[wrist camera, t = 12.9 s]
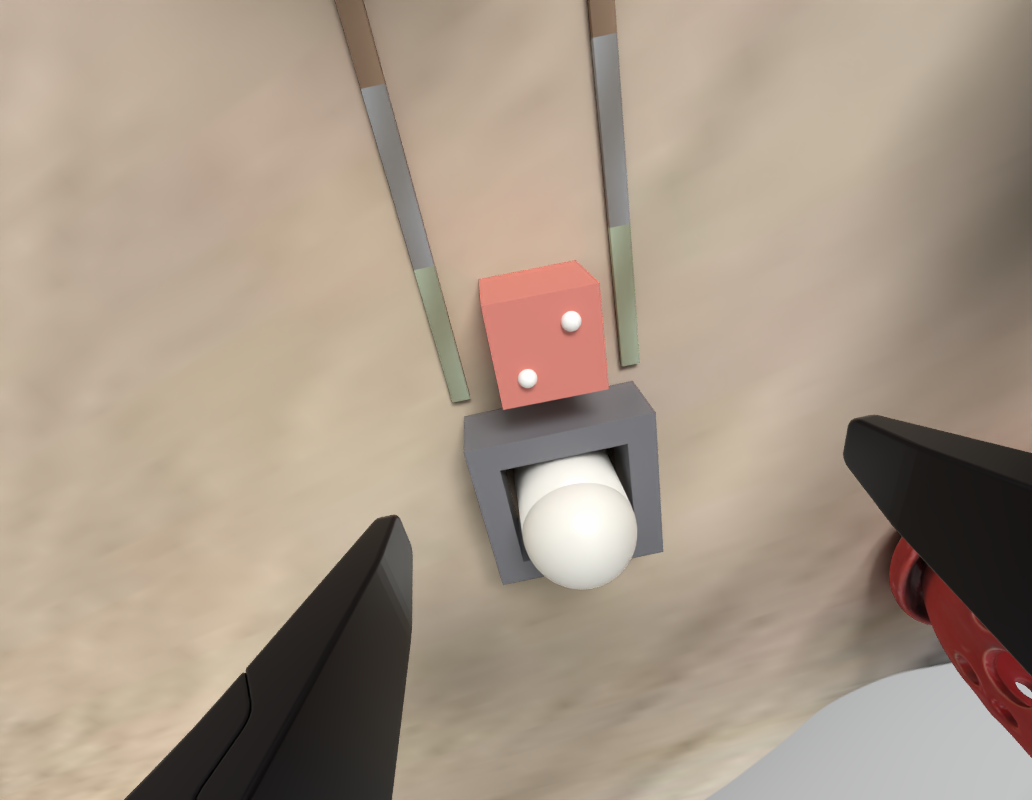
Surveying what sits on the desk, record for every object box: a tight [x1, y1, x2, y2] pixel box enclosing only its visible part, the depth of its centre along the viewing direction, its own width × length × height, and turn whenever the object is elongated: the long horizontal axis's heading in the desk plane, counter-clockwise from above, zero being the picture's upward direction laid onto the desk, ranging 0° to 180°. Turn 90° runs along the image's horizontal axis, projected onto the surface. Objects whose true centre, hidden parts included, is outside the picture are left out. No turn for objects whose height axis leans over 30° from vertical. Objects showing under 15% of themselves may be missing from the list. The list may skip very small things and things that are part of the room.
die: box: [479, 260, 609, 410], centre depth 18 cm, size 4×4×4 cm
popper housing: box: [464, 381, 663, 585], centre depth 22 cm, size 8×8×3 cm
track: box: [335, 0, 640, 402], centre depth 17 cm, size 9×18×1 cm, turn 11°
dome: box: [514, 449, 637, 590], centre depth 20 cm, size 5×5×6 cm
